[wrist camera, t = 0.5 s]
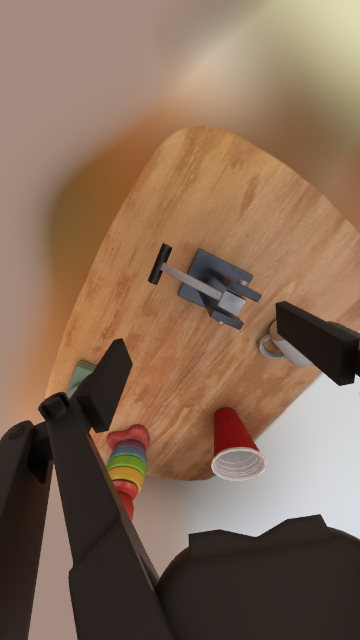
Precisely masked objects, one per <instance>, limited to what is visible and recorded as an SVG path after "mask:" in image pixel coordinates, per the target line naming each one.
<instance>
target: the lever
mask: <svg viewBox="0 0 360 640" xmlns="http://www.w3.org/2000/svg"><path fill="white" fill-rule="evenodd" d="M171 251H172V247H170V246H168V245H166V244H164V243H163V244H162V246H161V249H160V251H159V254H158V256H157V259H156V261H155V264H154V266H153V269H152V271H151V274H150V276H149V279H148V281H149V282H150V283H152V284H155V285H157V284H158V281H159V279H160V277H161V274H162V272H165V273H167V274H169V275H171V276H173V277H175V278H177V279H178V280H180V281H182V282H184V283H186V284H188V285H190V286H192V287H194V288H196V289H197V290H199V291H201V292H203V293H205V294H207V295H209V296H211V297H213V298H214V299H216V300H218V301H219V302H218V304H217V306H219V307H220V308H222V309H224V310H226V311H228V312H230V313H232V314H233V315H235V316H237V315H238V313H239V312H240V310H241V308H242V307H243V305H244V304H245V302H246V299H245V298H243V297H241V296H239V295H237V294H235V293H233V292H231V291H230V290H228V289H226V290H225V292H224V293H223V292H221V291H219V290H217V289H215V288H214V287H212V286H210V285H208V284H206V283H204V282H202V281H200V280H198V279H196V278H194V277H192V276H190V275H188V274H187V273H185V272H183V271H181V270H179V269H177V268H175V267H173V266H171V265H169V264H167V263H166V262H167V260H168V258H169V255H170V253H171Z"/></svg>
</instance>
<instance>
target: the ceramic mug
mask: <svg viewBox="0 0 360 640" xmlns="http://www.w3.org/2000/svg"><path fill="white" fill-rule="evenodd" d="M269 339H272V341H273V342H274V343H275V345H276V346H277V347H278V348H279V349H280V350H281V351H282V352H281V353H269V352H267V351H266V350H265V349H264V347H263V345H262V344H263V343H264V342H265V341H267V340H269ZM259 350H260V352H261V353H262V354H263V355H264V356H265V357H268V358H272V359H281V358H287V359H288V360H289V361H290V362H291V363H292V364H294V365H297V366H310V365H314V364H313V363H312V362H311V361H309V360H308V359H307V358H306V357H305V356H304V355H302V354H301V353H300V352H299V351H298V350H296V349H295V348H294V347H293V346H292V345H291V344H289V343H288V342H287V341H286V340H285V339H284V338H282V337H281V336H280V335H279V334H278V333H277V320H275V321H274V322H273V323H272V325H271V327H270V329H269V334H268V335H265V336H264V337H262V338H261V339H260V341H259Z"/></svg>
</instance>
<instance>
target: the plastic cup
mask: <svg viewBox="0 0 360 640" xmlns="http://www.w3.org/2000/svg"><path fill="white" fill-rule="evenodd" d="M266 466H267V463H266V459H265V457H264V456H263V455H262V454H261V453H260V451H259V450H258V448H257V447H256V444H255V443H254V442H253V440H252V438H251V436H250V435H249V433H248V431H247V429H246V428H245V426H244V424H243V423H242V421H241V420H240V418H239V416H238V414H237V413H236V412H235V411H234V410H233V409H231V408H222V409H220V410H218V411H217V412H216V413H215V416H214V456H213V461H212V464H211V467H212V470H213V472H214V473H215V474H216V475H217V476H219V477H221V478H224V479H227V480H234V481H240V480H248V479H251V478H254V477H257V476H258V475H260V474H261V473H263V471H264V470H265V468H266Z"/></svg>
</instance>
